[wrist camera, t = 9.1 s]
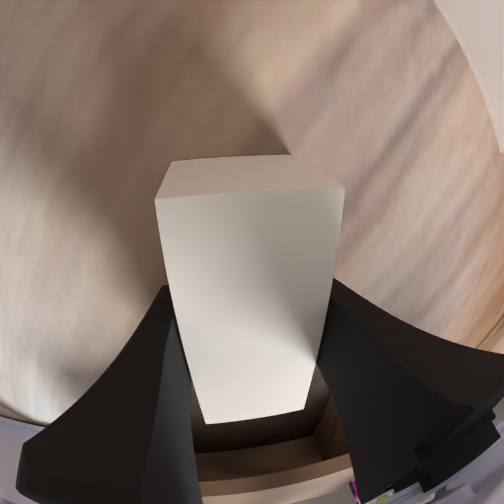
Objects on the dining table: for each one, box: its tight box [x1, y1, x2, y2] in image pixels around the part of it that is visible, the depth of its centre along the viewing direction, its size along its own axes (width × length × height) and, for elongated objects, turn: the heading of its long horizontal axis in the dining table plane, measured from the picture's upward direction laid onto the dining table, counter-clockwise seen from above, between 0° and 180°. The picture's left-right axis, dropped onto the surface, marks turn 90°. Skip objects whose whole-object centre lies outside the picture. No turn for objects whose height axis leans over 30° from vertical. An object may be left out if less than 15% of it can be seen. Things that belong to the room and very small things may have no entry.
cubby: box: [194, 393, 354, 504], centre depth 16 cm, size 14×9×6 cm, turn 90°
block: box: [155, 155, 345, 424], centre depth 10 cm, size 4×9×4 cm, turn 0°
